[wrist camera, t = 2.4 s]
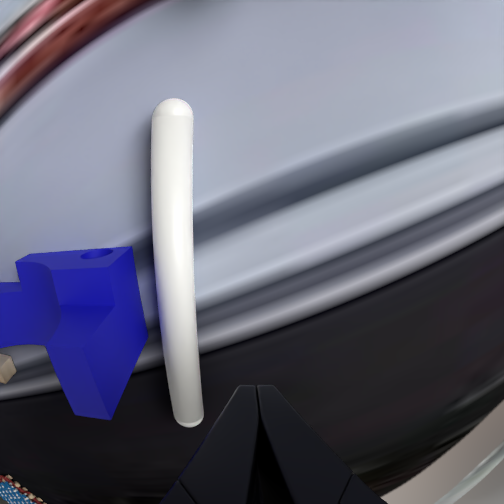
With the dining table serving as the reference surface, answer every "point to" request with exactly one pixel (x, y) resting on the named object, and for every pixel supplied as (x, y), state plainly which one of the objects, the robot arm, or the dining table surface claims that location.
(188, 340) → the white peg
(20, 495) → the woven mat
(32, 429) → the dining table surface
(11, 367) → the frame
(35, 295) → the cable clip
